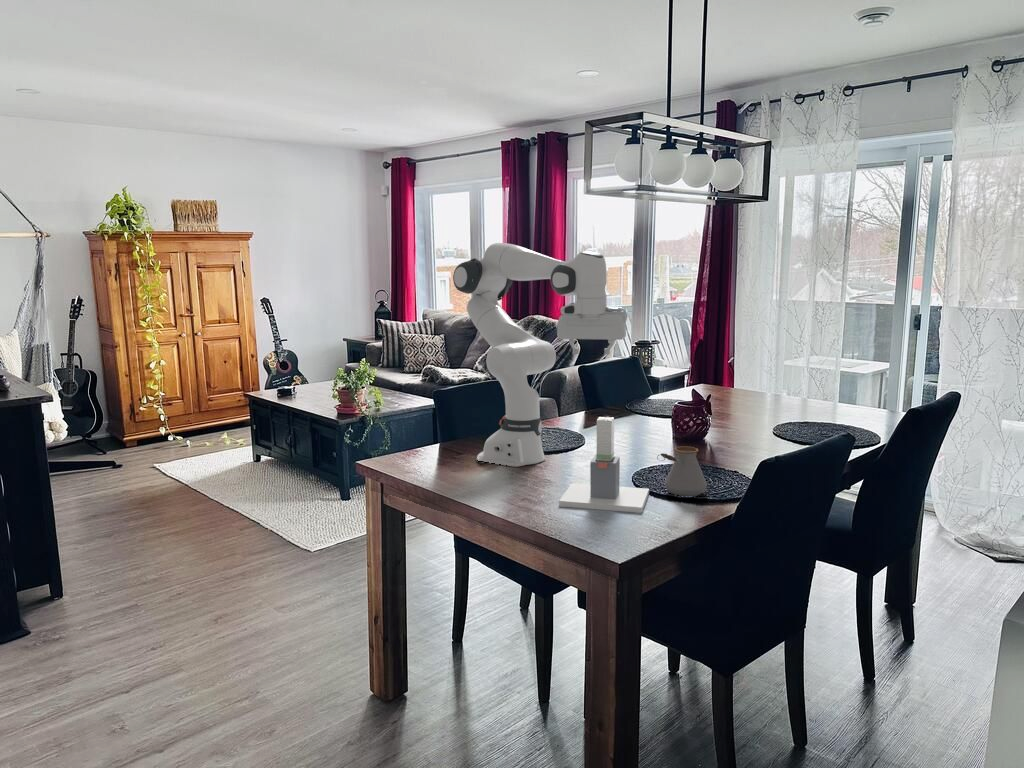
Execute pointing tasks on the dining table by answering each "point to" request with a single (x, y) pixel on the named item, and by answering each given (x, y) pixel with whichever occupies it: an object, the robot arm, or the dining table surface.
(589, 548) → the dining table surface
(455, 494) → the dining table surface
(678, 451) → the coffee pot
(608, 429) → the column
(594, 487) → the stand
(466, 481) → the dining table surface
